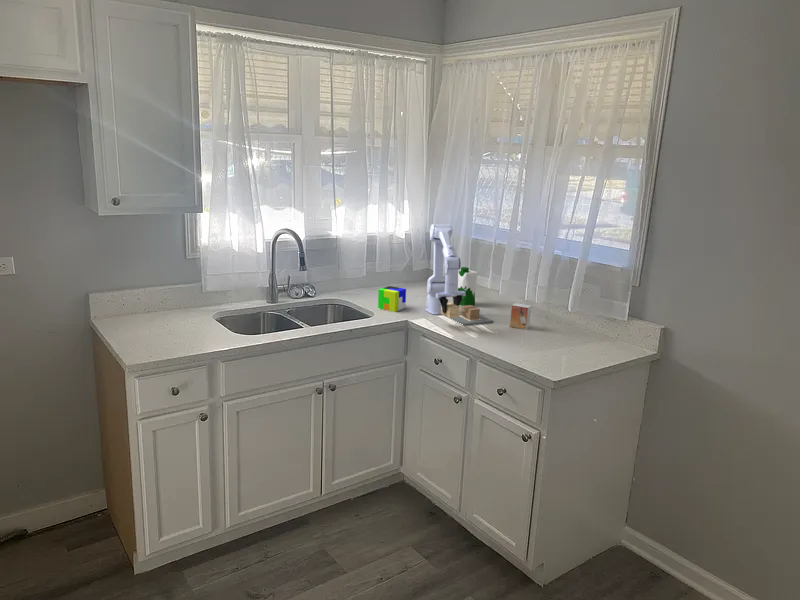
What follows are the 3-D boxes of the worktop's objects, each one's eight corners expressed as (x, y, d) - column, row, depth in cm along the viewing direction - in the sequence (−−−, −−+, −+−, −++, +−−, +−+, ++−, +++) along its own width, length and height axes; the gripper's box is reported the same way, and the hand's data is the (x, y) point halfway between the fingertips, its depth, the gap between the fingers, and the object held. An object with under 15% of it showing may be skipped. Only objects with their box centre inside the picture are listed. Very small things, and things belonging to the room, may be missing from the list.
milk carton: (453, 303, 321) (455, 266, 316) (466, 302, 326) (469, 265, 321) (464, 307, 314) (466, 269, 309) (477, 305, 319) (480, 268, 314)
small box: (509, 327, 283) (511, 305, 281) (513, 324, 288) (514, 302, 285) (526, 329, 280) (528, 307, 277) (529, 326, 284) (531, 305, 282)
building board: (447, 316, 296) (447, 314, 296) (475, 313, 303) (475, 311, 303) (464, 325, 282) (464, 323, 282) (493, 322, 289) (493, 320, 289)
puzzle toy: (405, 308, 310) (406, 288, 307) (394, 312, 302) (395, 292, 299) (389, 304, 315) (389, 286, 312) (378, 308, 307) (378, 289, 304)
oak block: (440, 313, 282) (441, 303, 281) (450, 312, 284) (450, 302, 283) (449, 318, 275) (449, 307, 274) (458, 317, 277) (459, 306, 276)
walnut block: (461, 315, 295) (461, 305, 293) (470, 314, 297) (470, 305, 296) (470, 320, 288) (470, 310, 286) (479, 319, 290) (479, 309, 289)
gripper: (441, 286, 270) (440, 315, 273) (469, 284, 276) (467, 312, 279) (434, 282, 276) (432, 311, 279) (461, 280, 282) (459, 309, 285)
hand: (449, 312), depth 280 cm, fingers closed on oak block, 5 cm apart
